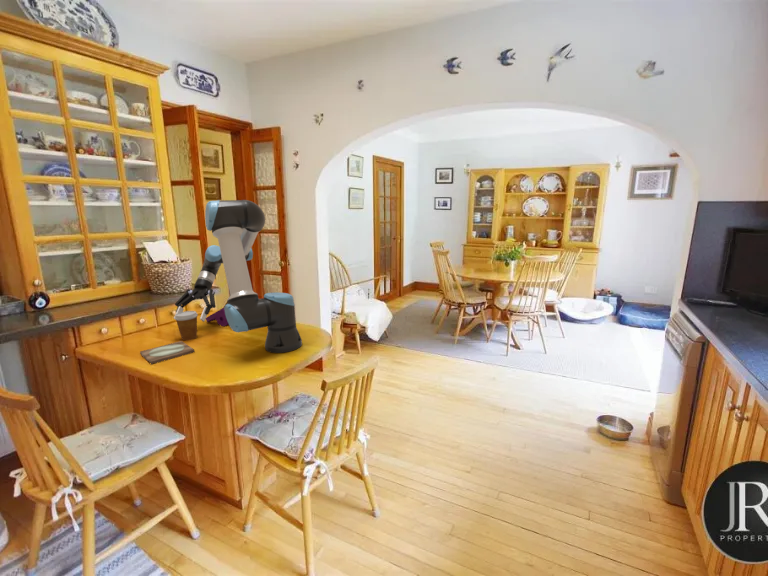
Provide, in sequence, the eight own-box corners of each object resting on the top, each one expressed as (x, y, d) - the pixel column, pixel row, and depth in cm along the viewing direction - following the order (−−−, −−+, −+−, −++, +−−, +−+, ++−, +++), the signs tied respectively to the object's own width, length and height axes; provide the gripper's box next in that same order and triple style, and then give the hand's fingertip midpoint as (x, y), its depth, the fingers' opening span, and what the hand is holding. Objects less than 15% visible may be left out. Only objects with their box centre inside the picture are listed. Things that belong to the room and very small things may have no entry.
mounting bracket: (208, 334, 195) (229, 323, 187) (201, 320, 195) (222, 308, 186) (223, 329, 203) (243, 318, 195) (216, 315, 203) (236, 303, 195)
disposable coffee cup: (199, 333, 179) (195, 309, 176) (202, 338, 171) (198, 313, 168) (177, 337, 174) (173, 313, 171) (179, 343, 166) (174, 317, 163)
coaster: (194, 352, 154) (194, 349, 154) (151, 364, 143) (150, 361, 143) (181, 343, 165) (181, 340, 165) (140, 354, 154) (139, 351, 154)
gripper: (231, 286, 185) (217, 324, 174) (186, 286, 189) (170, 323, 178) (223, 277, 179) (208, 316, 168) (178, 277, 183) (160, 315, 172)
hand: (189, 320), depth 173 cm, fingers open, 13 cm apart
